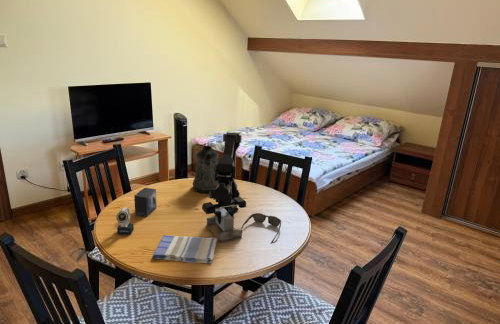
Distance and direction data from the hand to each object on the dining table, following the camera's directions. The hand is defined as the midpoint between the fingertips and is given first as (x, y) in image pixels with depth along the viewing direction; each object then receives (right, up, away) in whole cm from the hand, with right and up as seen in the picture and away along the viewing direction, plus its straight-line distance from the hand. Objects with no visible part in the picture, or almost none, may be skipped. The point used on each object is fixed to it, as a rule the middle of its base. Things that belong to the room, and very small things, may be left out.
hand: (224, 222), depth 152 cm
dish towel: (-14, -9, -13) cm, 21 cm away
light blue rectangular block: (0, -2, 0) cm, 2 cm away
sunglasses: (+16, -5, +3) cm, 18 cm away
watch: (-42, -4, -3) cm, 42 cm away
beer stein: (-12, +11, +46) cm, 48 cm away
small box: (-39, +2, +16) cm, 42 cm away
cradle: (0, -4, +1) cm, 4 cm away
